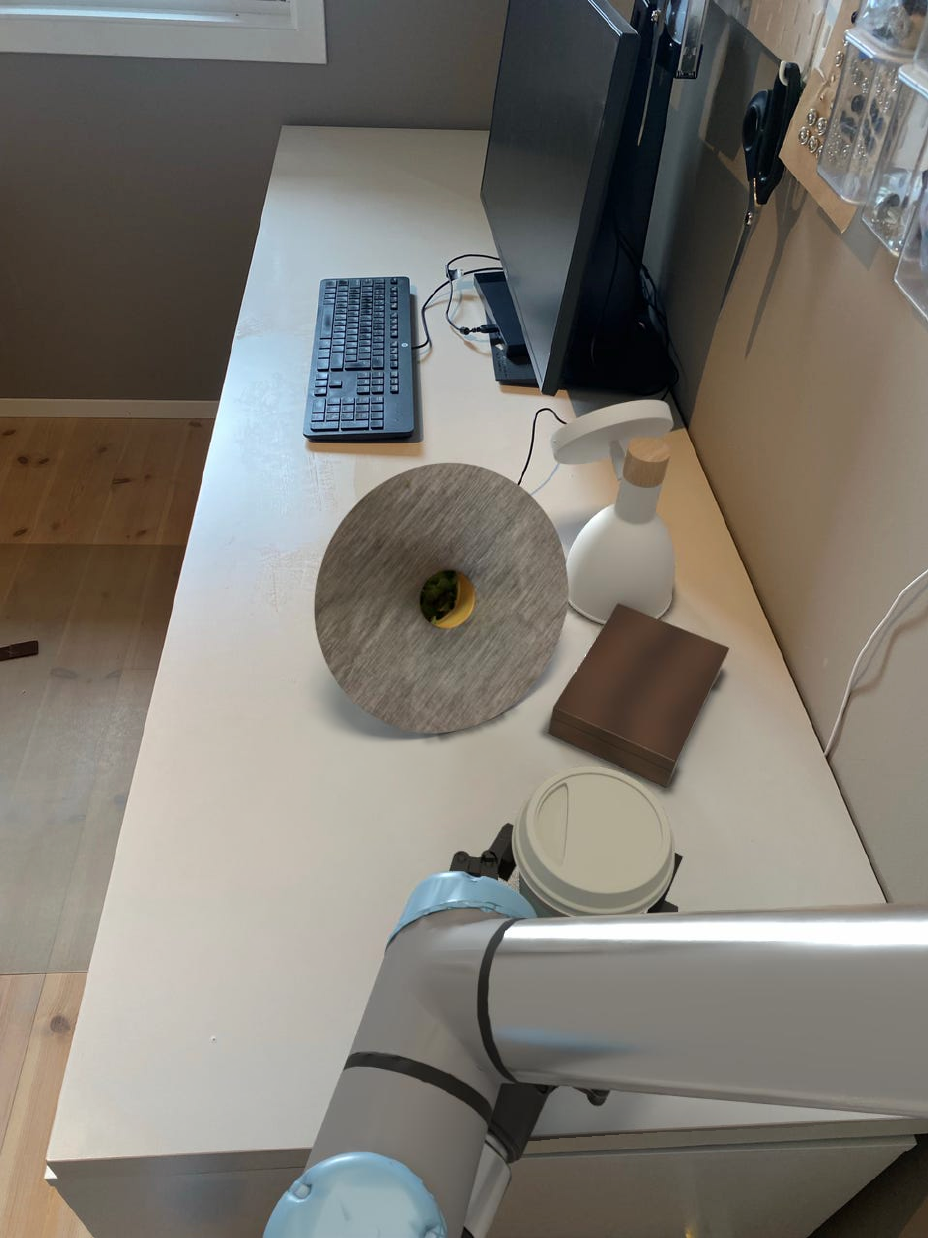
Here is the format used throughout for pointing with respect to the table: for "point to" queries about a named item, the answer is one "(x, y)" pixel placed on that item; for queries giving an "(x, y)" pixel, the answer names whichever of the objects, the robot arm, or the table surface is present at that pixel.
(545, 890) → the coffee cup
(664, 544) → the light fixture
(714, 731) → the table surface
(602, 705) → the wooden trinket box
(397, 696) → the grey round piece
